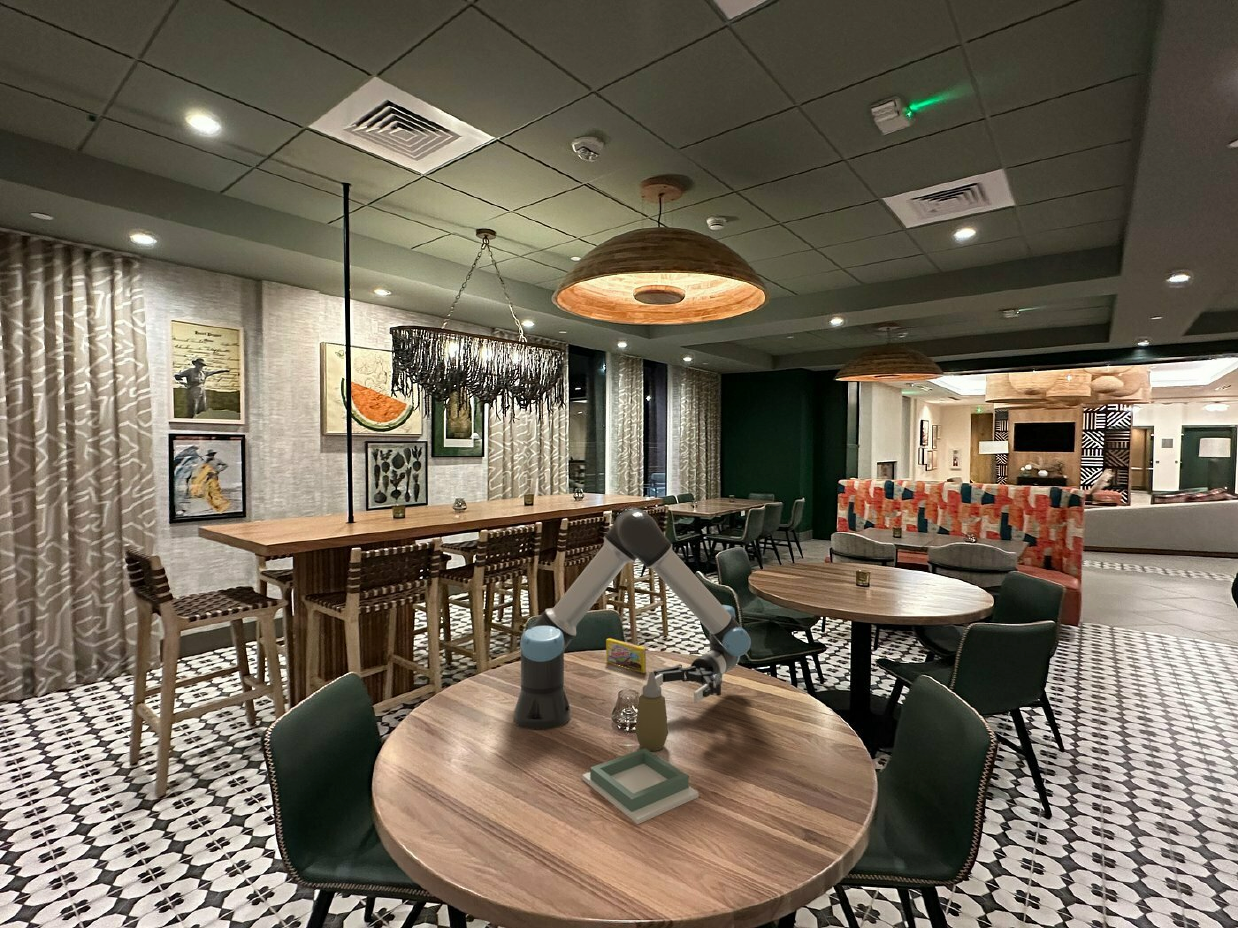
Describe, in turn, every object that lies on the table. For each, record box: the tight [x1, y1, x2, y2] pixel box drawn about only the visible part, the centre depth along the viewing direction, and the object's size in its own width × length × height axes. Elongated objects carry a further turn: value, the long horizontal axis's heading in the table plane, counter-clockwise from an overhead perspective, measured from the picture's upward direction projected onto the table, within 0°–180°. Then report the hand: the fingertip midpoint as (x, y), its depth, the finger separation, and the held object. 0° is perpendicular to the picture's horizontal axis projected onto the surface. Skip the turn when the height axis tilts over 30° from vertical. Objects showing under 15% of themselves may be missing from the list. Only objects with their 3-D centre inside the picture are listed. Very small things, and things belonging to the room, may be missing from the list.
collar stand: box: [581, 748, 700, 825], centre depth 128 cm, size 20×16×4 cm
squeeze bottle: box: [635, 671, 669, 752], centre depth 147 cm, size 8×8×18 cm
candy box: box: [605, 637, 647, 674], centre depth 203 cm, size 16×2×8 cm, turn 50°
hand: (671, 691), depth 155 cm, fingers open, 13 cm apart
